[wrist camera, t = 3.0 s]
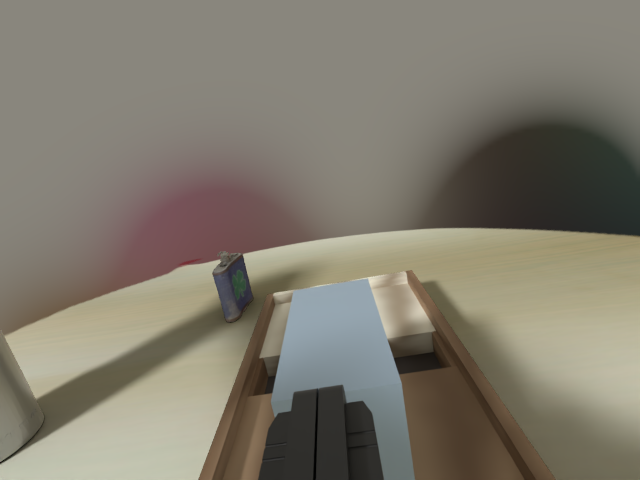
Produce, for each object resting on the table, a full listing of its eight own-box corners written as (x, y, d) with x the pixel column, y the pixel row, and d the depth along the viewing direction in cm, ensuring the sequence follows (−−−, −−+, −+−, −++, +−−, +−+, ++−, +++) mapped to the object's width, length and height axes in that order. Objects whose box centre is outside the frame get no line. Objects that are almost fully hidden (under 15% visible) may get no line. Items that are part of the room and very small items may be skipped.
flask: (237, 322, 54) (219, 260, 51) (220, 324, 54) (202, 262, 52) (256, 296, 63) (242, 242, 60) (241, 297, 63) (226, 244, 60)
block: (315, 565, 18) (270, 402, 15) (318, 401, 30) (293, 290, 27) (425, 552, 18) (401, 383, 15) (385, 392, 29) (367, 278, 26)
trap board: (176, 666, 18) (149, 612, 16) (273, 319, 52) (267, 294, 51) (606, 624, 16) (612, 562, 15) (414, 297, 51) (411, 270, 50)
